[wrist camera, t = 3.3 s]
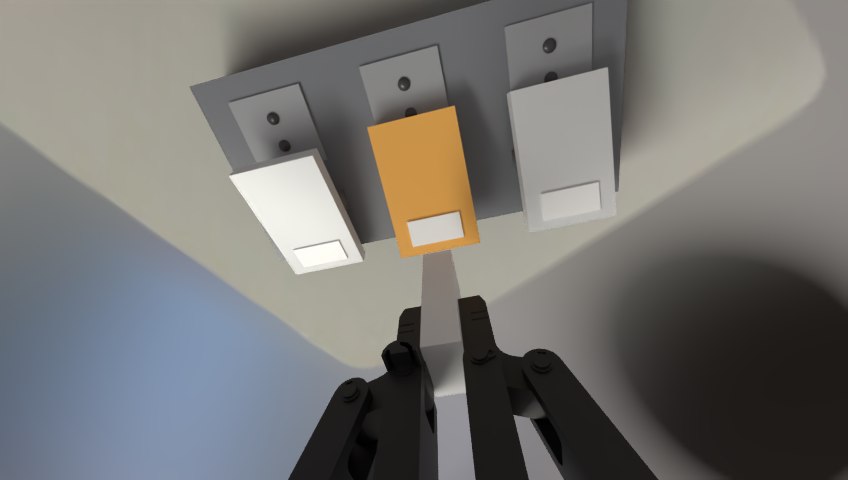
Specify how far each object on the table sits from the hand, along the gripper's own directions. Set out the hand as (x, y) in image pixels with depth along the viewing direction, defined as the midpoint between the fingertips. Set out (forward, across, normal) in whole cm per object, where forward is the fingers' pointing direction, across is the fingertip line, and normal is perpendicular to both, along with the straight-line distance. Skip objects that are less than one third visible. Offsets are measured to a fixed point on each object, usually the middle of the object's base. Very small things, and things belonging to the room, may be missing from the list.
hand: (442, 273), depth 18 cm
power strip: (+9, 0, +6) cm, 11 cm away
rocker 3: (+5, +8, +4) cm, 10 cm away
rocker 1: (+5, -8, +4) cm, 10 cm away
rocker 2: (+5, 0, +4) cm, 6 cm away
